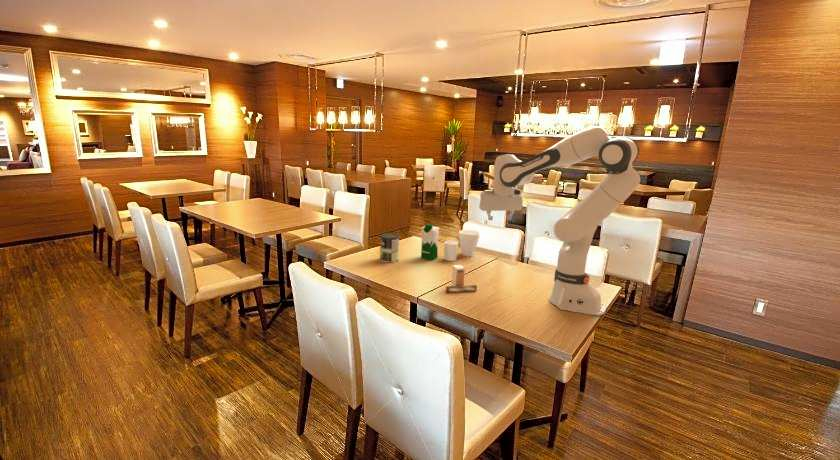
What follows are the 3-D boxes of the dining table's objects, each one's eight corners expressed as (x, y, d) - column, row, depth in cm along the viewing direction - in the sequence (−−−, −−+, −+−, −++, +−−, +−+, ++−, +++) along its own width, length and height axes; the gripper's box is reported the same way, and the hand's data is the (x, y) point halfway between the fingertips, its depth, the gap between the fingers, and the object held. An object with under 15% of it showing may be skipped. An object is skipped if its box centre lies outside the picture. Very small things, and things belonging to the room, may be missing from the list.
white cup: (456, 262, 215) (457, 244, 213) (442, 260, 216) (443, 243, 214) (458, 258, 222) (459, 241, 220) (444, 256, 224) (445, 240, 222)
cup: (465, 258, 222) (466, 235, 219) (453, 252, 232) (454, 230, 229) (482, 256, 228) (483, 233, 225) (470, 250, 238) (471, 229, 235)
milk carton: (418, 258, 219) (419, 224, 215) (426, 254, 227) (428, 221, 222) (431, 261, 215) (433, 226, 210) (439, 257, 222) (441, 223, 218)
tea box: (451, 285, 180) (452, 265, 178) (459, 284, 181) (461, 264, 179) (455, 289, 175) (456, 268, 173) (463, 289, 176) (464, 268, 174)
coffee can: (382, 263, 208) (382, 238, 205) (378, 257, 218) (378, 233, 214) (400, 262, 211) (401, 237, 208) (396, 256, 221) (396, 232, 218)
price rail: (475, 289, 176) (475, 284, 176) (476, 291, 175) (476, 286, 174) (446, 291, 173) (446, 286, 172) (447, 292, 171) (447, 287, 171)
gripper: (483, 191, 170) (481, 221, 173) (525, 191, 175) (522, 220, 178) (478, 189, 176) (476, 218, 179) (518, 189, 181) (516, 218, 184)
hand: (499, 219), depth 179 cm, fingers open, 8 cm apart
